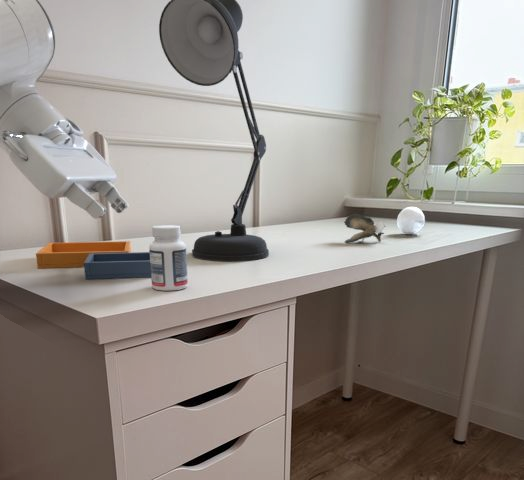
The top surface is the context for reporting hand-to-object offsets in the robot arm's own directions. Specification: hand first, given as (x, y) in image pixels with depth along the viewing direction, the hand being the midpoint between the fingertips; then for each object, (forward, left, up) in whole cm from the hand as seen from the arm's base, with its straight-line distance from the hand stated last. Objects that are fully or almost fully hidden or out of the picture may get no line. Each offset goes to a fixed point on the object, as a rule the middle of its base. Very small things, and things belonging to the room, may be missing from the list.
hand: (114, 212), depth 72 cm
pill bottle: (+7, -1, -11) cm, 13 cm away
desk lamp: (+20, +27, -11) cm, 36 cm away
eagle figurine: (+56, +42, -11) cm, 71 cm away
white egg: (+76, +55, -11) cm, 95 cm away
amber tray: (-7, +25, -11) cm, 29 cm away
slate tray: (0, +12, -11) cm, 17 cm away
